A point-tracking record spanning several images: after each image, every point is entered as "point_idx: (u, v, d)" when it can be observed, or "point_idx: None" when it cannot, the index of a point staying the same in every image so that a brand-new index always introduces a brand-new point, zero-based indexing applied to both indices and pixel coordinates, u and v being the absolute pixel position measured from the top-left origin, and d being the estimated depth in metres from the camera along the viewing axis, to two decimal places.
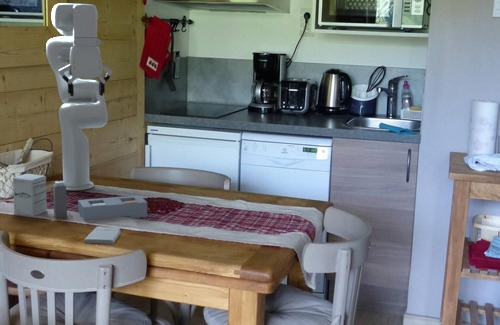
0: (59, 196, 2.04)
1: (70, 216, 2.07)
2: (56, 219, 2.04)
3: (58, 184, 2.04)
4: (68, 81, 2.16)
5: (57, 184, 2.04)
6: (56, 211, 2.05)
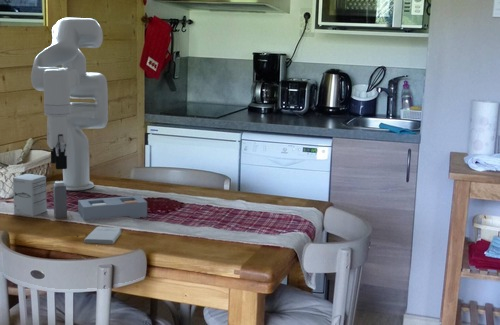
0: (59, 196, 2.04)
1: (70, 216, 2.07)
2: (56, 219, 2.04)
3: (58, 184, 2.04)
4: (65, 153, 1.98)
5: (57, 184, 2.04)
6: (56, 211, 2.05)
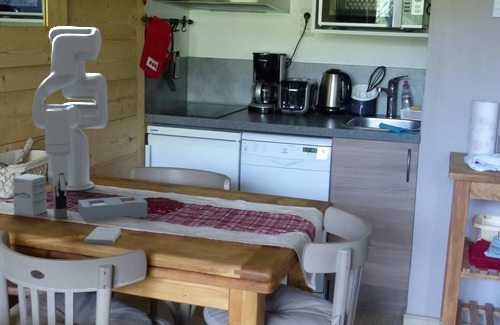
0: None
1: (70, 216, 2.07)
2: (56, 219, 2.04)
3: (58, 184, 2.04)
4: (65, 194, 2.03)
5: None
6: (56, 211, 2.05)
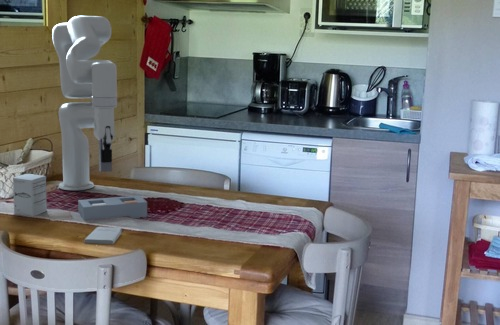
0: None
1: (70, 216, 2.07)
2: (56, 219, 2.04)
3: None
4: (110, 148, 2.05)
5: None
6: (101, 165, 2.07)
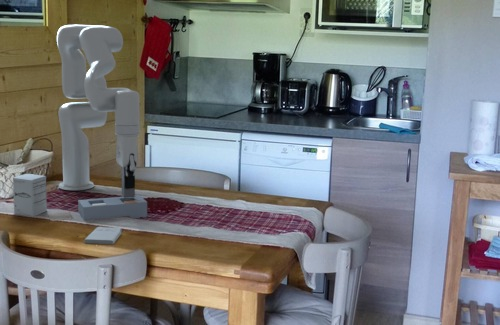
0: None
1: (70, 216, 2.07)
2: (56, 219, 2.04)
3: None
4: (133, 174, 2.09)
5: None
6: (125, 191, 2.11)
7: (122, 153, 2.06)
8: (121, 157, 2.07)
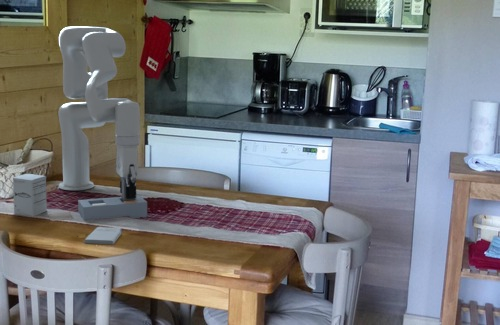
0: None
1: (70, 216, 2.07)
2: (56, 219, 2.04)
3: None
4: (135, 184, 2.09)
5: None
6: None
7: (122, 164, 2.07)
8: (121, 168, 2.08)
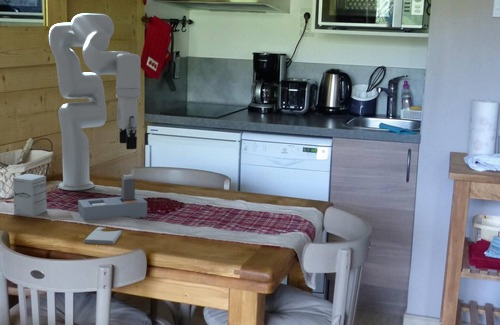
0: (128, 189, 2.11)
1: (70, 216, 2.07)
2: (56, 219, 2.04)
3: (127, 177, 2.11)
4: None
5: (126, 177, 2.11)
6: None
7: (122, 116, 2.08)
8: (121, 120, 2.09)
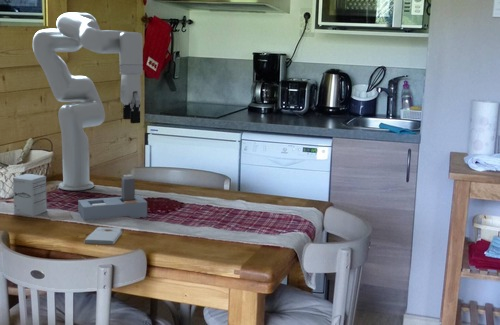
0: (128, 189, 2.11)
1: (70, 216, 2.07)
2: (56, 219, 2.04)
3: (127, 177, 2.11)
4: (139, 109, 2.18)
5: (126, 177, 2.11)
6: None
7: (126, 91, 2.17)
8: (125, 95, 2.18)
